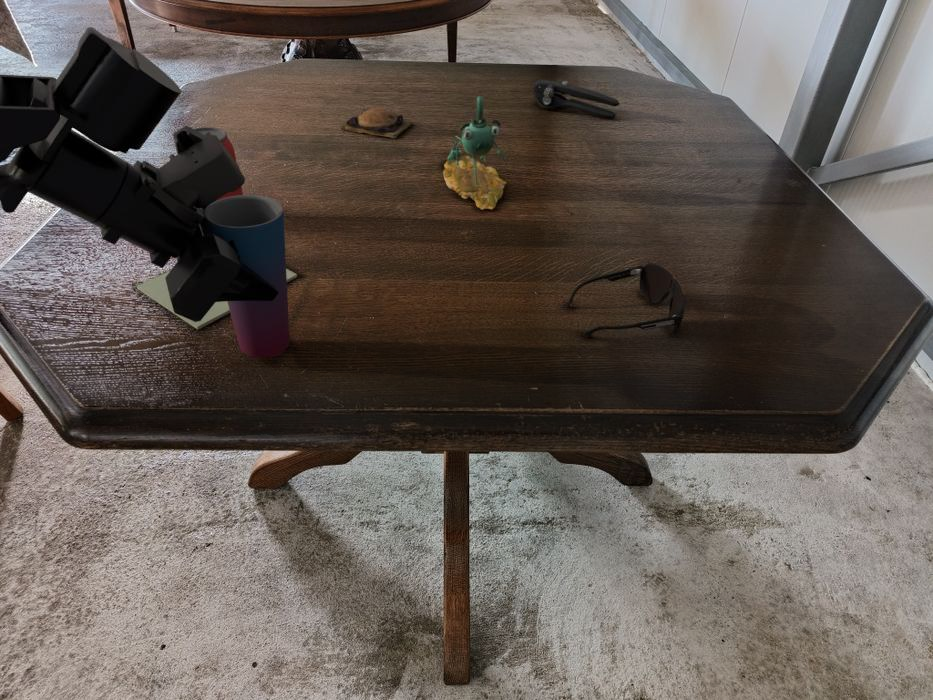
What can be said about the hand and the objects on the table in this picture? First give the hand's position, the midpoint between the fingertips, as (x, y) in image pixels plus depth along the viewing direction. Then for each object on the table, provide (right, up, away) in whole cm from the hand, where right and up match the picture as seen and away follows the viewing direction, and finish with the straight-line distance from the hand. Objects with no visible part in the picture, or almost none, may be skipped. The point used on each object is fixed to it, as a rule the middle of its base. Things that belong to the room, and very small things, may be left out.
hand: (267, 279), depth 61 cm
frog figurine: (+21, +19, +38) cm, 47 cm away
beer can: (-14, +11, +26) cm, 32 cm away
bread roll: (+3, +34, +55) cm, 65 cm away
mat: (-10, +1, +14) cm, 18 cm away
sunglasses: (+38, -3, +12) cm, 40 cm away
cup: (-2, -6, +4) cm, 8 cm away
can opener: (+41, +41, +66) cm, 88 cm away
